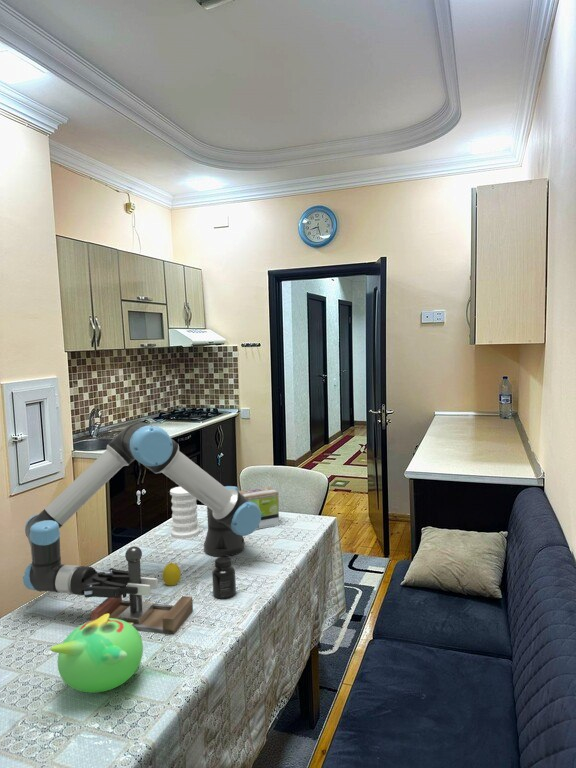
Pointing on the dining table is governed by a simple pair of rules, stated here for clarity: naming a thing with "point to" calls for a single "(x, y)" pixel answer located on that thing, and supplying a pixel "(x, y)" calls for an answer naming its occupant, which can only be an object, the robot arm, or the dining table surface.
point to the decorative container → (184, 514)
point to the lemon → (171, 574)
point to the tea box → (265, 504)
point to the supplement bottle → (224, 579)
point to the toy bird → (99, 655)
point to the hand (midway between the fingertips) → (153, 587)
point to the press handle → (136, 609)
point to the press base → (158, 621)
